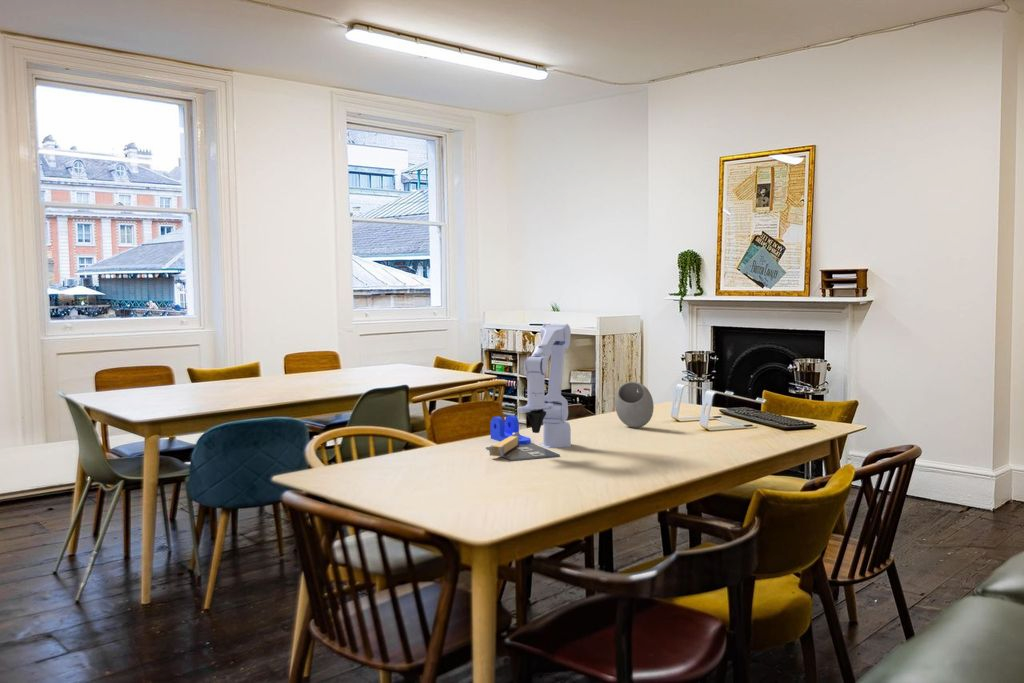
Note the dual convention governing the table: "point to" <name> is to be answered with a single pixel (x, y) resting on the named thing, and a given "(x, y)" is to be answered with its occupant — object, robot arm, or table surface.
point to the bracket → (506, 429)
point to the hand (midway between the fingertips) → (535, 432)
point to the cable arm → (503, 446)
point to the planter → (634, 404)
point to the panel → (527, 451)
